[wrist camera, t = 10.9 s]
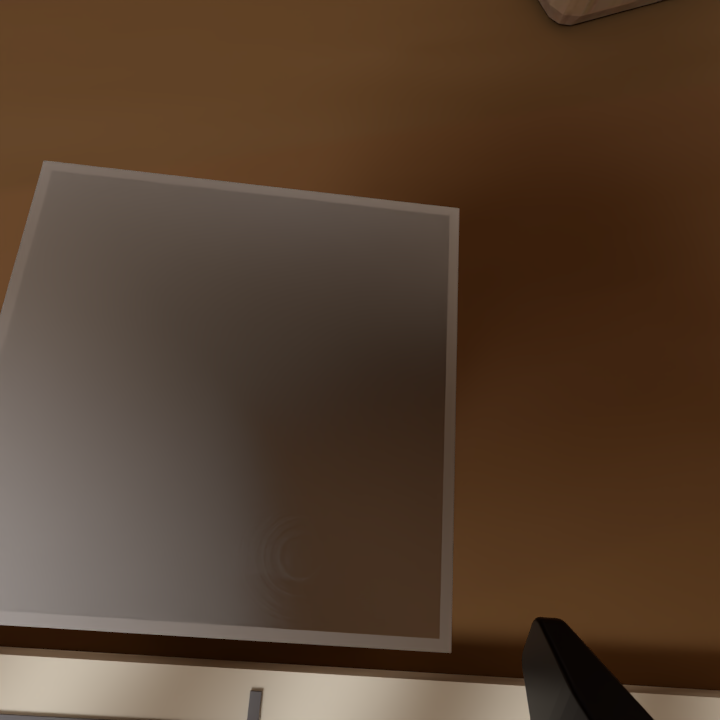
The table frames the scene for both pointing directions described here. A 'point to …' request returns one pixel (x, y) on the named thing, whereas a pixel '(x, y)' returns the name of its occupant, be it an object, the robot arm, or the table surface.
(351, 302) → the square column stand
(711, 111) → the table surface
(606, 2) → the wooden block
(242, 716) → the ash board
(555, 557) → the table surface
